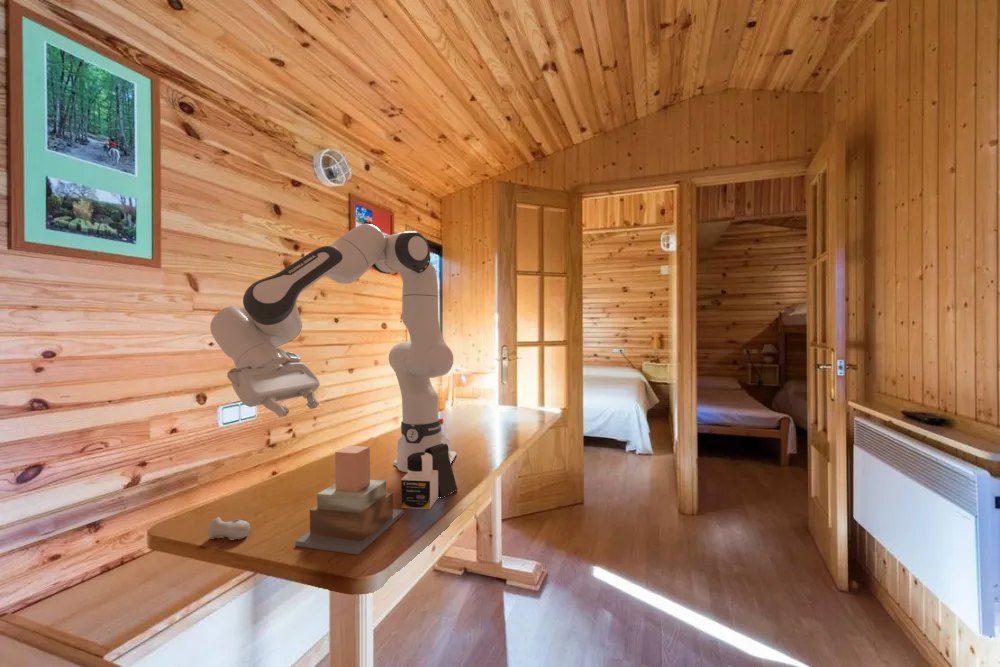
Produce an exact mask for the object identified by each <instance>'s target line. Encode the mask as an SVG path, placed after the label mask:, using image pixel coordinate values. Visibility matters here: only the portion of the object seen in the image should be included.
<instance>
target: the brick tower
mask: <svg viewBox="0 0 1000 667" xmlns="http://www.w3.org/2000/svg"><path fill="white" fill-rule="evenodd" d="M316 499H317V500H316V504H317V505H315V506H314V507H313V508H311V509H309V532H310V534H311V535H318V536H326V537H334V538H341V539H349V540H357V541H363V540H364V539H366V538H367V537H368V536H369V535H370V534H371V533H373V532H374V531H375V530H376V529H377V528H379V527H380V526H381V525H382V524H383V523H384V522H386V521H387V520H388V519H389V518H390V517H391V516H393V509H394V508H393V504H394V503H393V502H394V500H393V499H394V498H393V492H387V481H386V480H383V479H382V480H379V479H371V478H370V484H369V485H367V486H366V487H364V488H363V489H361V490H359V491H358V492H350V491H339V490H336V483H334V484H332V485H331V486H328V487H326V488H325V489H323V490H322V491H319V492H318V493H316Z"/></svg>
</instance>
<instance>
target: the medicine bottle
mask: <svg viewBox="0 0 1000 667" xmlns="http://www.w3.org/2000/svg"><path fill="white" fill-rule="evenodd" d="M407 470H408V472H406V474H404V476H403V477H401V480H400V481H401V482H400V484H401V485H400V488H401V489H400V490H401V496H400V497H401V508H402V509H417V510H418V509H419V510H431V508H432V507H433V506H434V504H435V503H436V501H437V500H438V499H439V498H438V471H437V470H433V465H432V455H431V454H429V453H426V452H418V453H413V454H411V455H409V456H408V458H407Z"/></svg>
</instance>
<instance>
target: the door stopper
mask: <svg viewBox="0 0 1000 667" xmlns="http://www.w3.org/2000/svg"><path fill="white" fill-rule="evenodd" d="M448 451H449V448H448V446H447V444H443V443H442V444H439V445H436V446H433V447H430V448H427V449H425V452H426V453H429V454H431V455H432V465H433V470H437V471H438V497H441V498H442V497H444V496H446V495H448V494H450V493H451V492H453V491H455V490H458V487H457V483H456V479H455V475H454V471H453V467H452V465H451V463H450V459H449V455H448ZM450 495H451V494H450ZM448 496H449V495H448ZM446 497H447V496H446ZM444 498H445V497H444ZM442 499H443V498H442Z"/></svg>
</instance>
